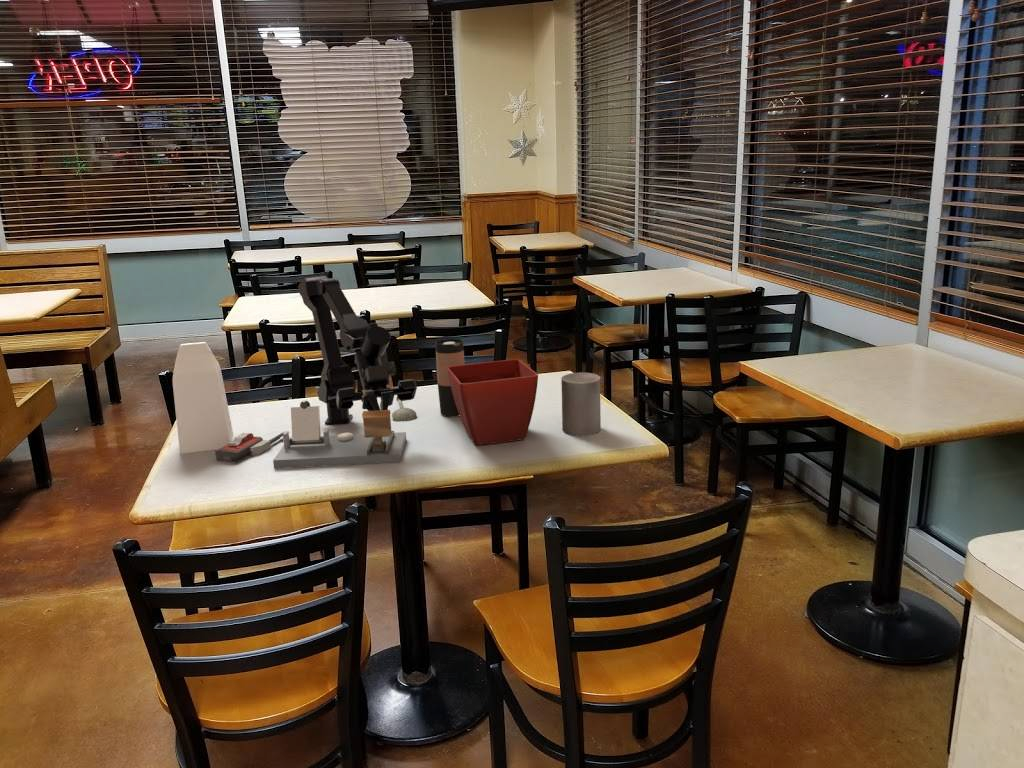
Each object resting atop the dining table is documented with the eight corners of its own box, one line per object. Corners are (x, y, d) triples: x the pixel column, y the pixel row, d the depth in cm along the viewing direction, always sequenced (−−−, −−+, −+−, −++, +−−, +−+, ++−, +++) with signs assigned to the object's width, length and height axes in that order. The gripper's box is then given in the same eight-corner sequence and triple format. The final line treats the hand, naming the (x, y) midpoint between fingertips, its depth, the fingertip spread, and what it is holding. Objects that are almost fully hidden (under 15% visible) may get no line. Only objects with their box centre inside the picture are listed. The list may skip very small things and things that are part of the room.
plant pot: (450, 428, 215) (446, 365, 211) (521, 420, 220) (519, 358, 215) (464, 452, 198) (460, 383, 193) (541, 442, 202) (539, 375, 197)
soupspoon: (392, 427, 223) (417, 425, 224) (392, 415, 222) (417, 413, 223) (388, 401, 243) (411, 400, 245) (388, 390, 242) (410, 389, 244)
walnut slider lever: (367, 446, 198) (364, 410, 195) (393, 445, 198) (390, 408, 195) (365, 452, 194) (361, 415, 191) (391, 450, 194) (388, 413, 191)
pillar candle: (560, 425, 215) (558, 368, 210) (597, 422, 215) (596, 366, 211) (565, 437, 205) (563, 378, 201) (604, 434, 206) (603, 376, 202)
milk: (180, 453, 205) (164, 350, 199) (184, 439, 216) (169, 341, 209) (231, 447, 208) (217, 345, 202) (233, 433, 219) (219, 336, 212)
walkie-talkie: (243, 466, 196) (288, 438, 214) (240, 448, 194) (286, 422, 213) (211, 464, 198) (258, 436, 217) (208, 446, 197) (256, 420, 215)
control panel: (289, 445, 208) (287, 424, 206) (406, 439, 208) (404, 418, 207) (274, 468, 192) (271, 445, 191) (400, 462, 193) (398, 439, 191)
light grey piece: (291, 445, 201) (289, 401, 201) (324, 443, 202) (322, 399, 202) (288, 445, 199) (286, 401, 199) (322, 444, 199) (320, 399, 199)
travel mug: (442, 408, 233) (437, 338, 228) (469, 408, 232) (465, 338, 227) (437, 417, 225) (432, 344, 220) (465, 416, 225) (461, 344, 219)
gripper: (333, 355, 193) (347, 413, 186) (412, 346, 199) (428, 402, 192) (331, 381, 202) (343, 437, 195) (406, 371, 208) (421, 425, 201)
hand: (384, 424), depth 196 cm, fingers closed
